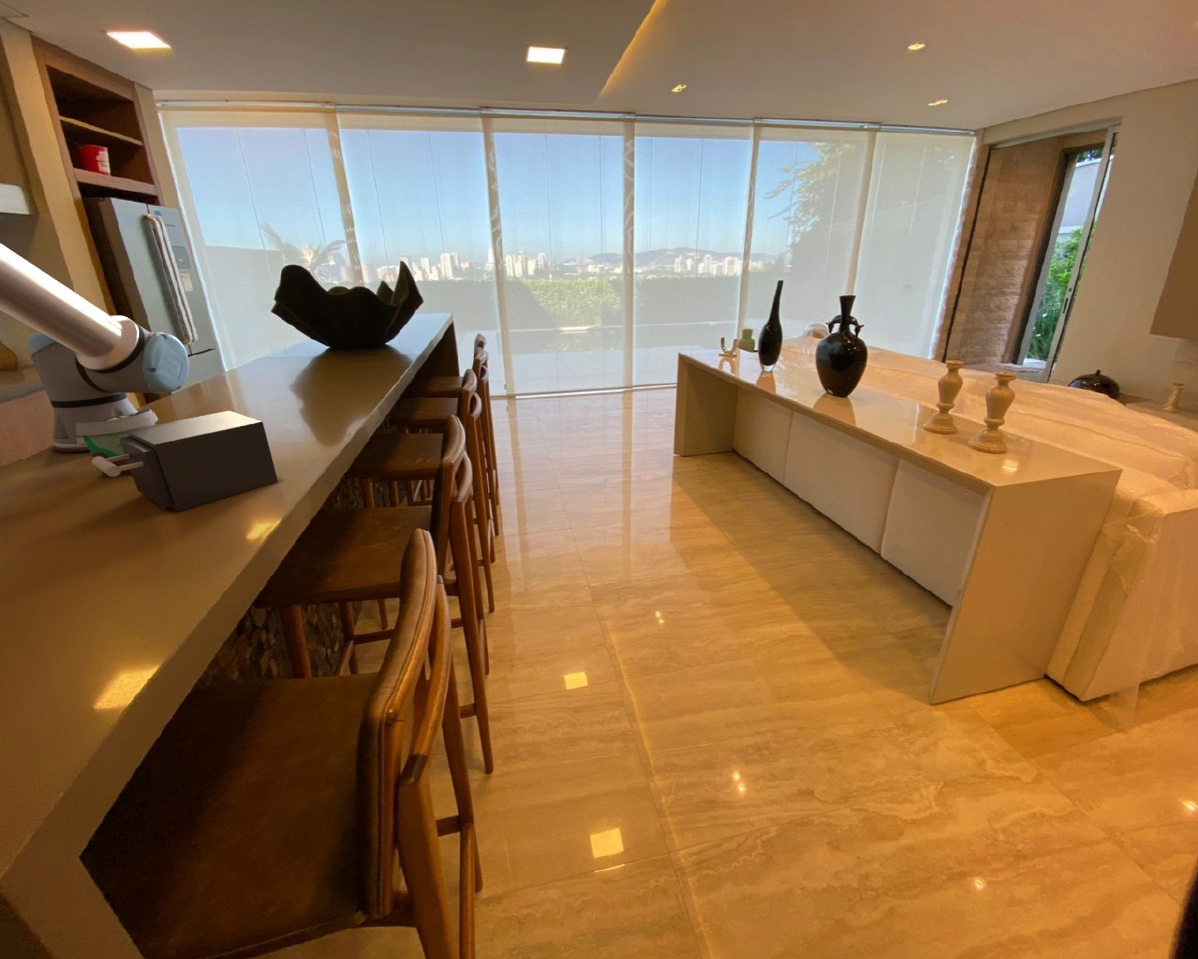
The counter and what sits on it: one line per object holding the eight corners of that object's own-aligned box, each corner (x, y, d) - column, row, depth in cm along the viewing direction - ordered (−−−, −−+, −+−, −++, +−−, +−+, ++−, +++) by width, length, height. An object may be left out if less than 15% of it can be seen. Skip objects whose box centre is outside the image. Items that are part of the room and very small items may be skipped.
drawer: (127, 518, 75) (105, 460, 72) (103, 500, 81) (81, 445, 78) (260, 480, 88) (247, 429, 85) (231, 466, 94) (217, 419, 91)
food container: (122, 481, 91) (101, 425, 87) (94, 479, 92) (72, 423, 88) (187, 457, 102) (171, 407, 98) (161, 455, 103) (144, 405, 99)
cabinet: (176, 511, 79) (154, 444, 75) (147, 493, 86) (125, 430, 82) (278, 481, 90) (262, 421, 86) (245, 466, 97) (229, 410, 93)
